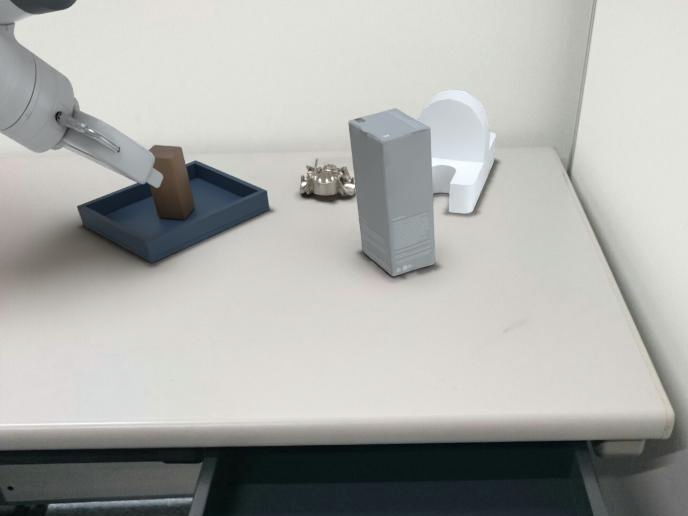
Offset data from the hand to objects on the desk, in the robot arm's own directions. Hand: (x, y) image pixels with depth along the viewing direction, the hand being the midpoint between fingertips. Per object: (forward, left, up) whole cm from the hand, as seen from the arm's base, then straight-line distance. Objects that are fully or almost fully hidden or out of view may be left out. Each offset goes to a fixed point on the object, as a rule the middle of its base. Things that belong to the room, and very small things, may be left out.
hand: (135, 170), depth 91 cm
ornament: (+10, +23, -8) cm, 27 cm away
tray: (0, +4, -7) cm, 8 cm away
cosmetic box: (+30, +15, -8) cm, 35 cm away
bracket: (+21, +37, -8) cm, 43 cm away
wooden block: (0, +4, -7) cm, 8 cm away
